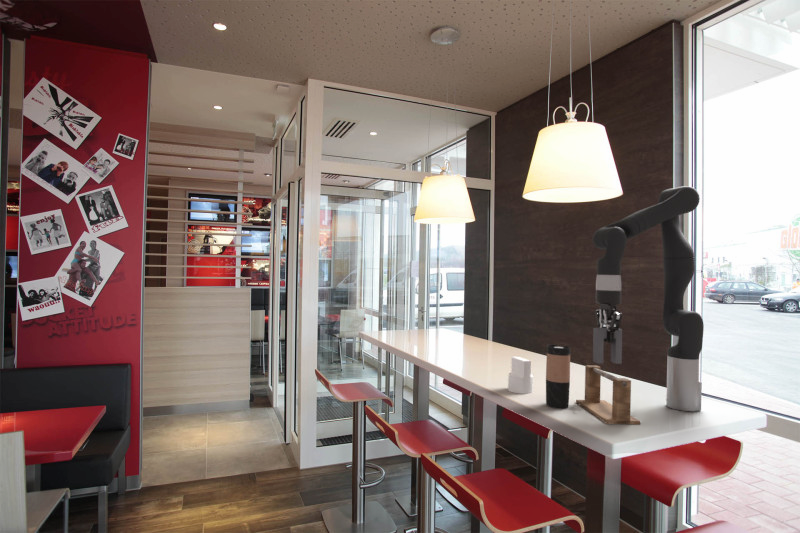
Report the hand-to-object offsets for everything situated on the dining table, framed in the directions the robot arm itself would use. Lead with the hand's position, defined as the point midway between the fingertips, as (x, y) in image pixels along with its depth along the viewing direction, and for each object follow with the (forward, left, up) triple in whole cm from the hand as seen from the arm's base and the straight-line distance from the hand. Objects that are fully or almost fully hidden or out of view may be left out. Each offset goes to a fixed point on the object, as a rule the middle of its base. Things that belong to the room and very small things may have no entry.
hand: (607, 342), depth 147 cm
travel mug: (+13, -7, -23) cm, 27 cm away
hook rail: (0, 0, -23) cm, 23 cm away
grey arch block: (0, 0, -7) cm, 7 cm away
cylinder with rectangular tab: (+20, -26, -23) cm, 40 cm away
